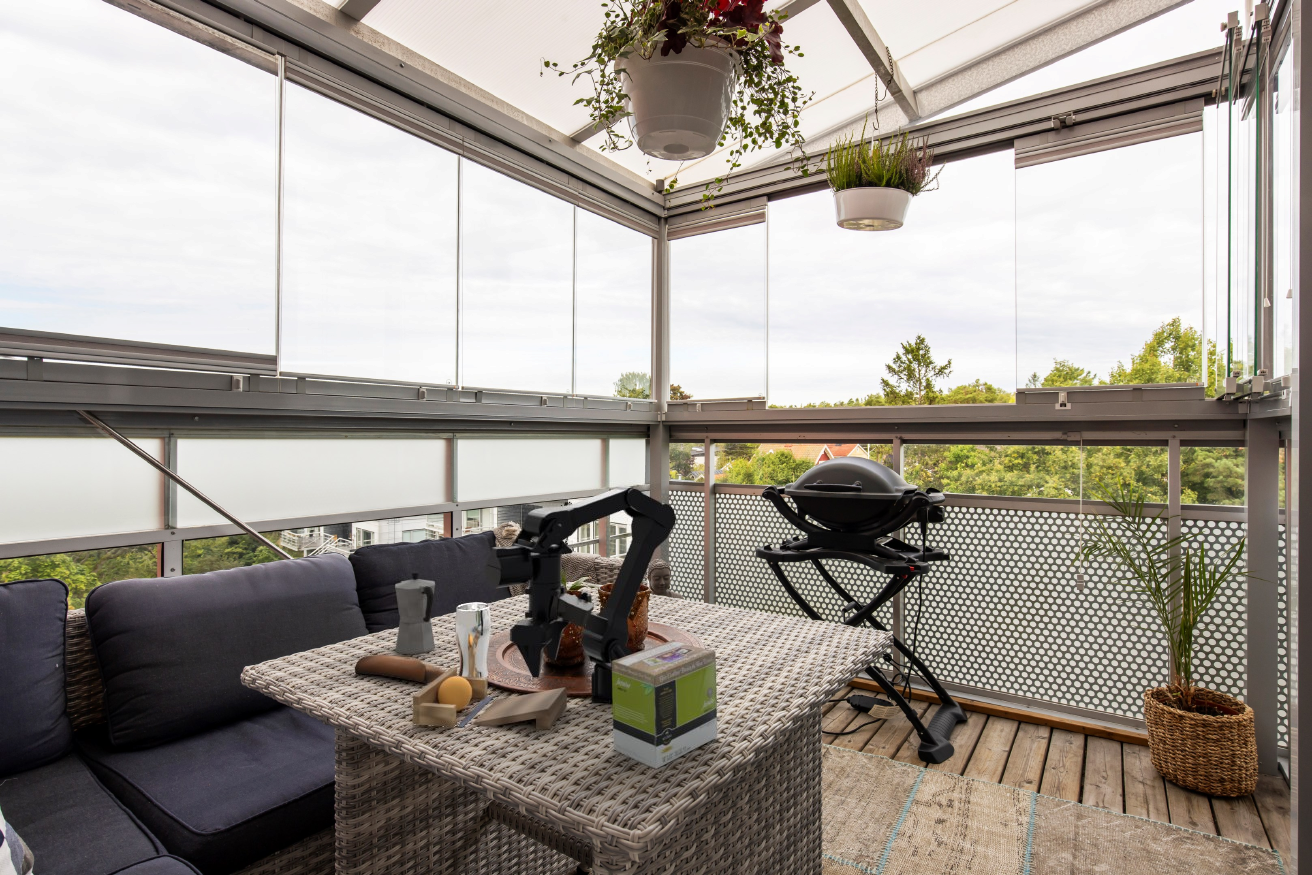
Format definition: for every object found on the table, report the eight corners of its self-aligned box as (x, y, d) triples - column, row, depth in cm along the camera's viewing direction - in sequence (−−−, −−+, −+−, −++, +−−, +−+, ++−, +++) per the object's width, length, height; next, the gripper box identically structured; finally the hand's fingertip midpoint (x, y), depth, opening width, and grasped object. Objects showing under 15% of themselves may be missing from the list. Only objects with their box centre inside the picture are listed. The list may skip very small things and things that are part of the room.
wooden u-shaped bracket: (494, 696, 132) (494, 670, 132) (460, 728, 118) (460, 699, 118) (451, 693, 134) (451, 667, 134) (412, 724, 120) (412, 696, 120)
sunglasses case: (451, 671, 146) (440, 649, 143) (432, 698, 140) (421, 676, 137) (382, 661, 152) (371, 640, 149) (362, 687, 146) (349, 665, 143)
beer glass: (481, 687, 137) (481, 611, 137) (449, 684, 139) (448, 609, 138) (496, 674, 144) (496, 603, 144) (465, 672, 145) (465, 601, 145)
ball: (446, 700, 129) (448, 669, 129) (476, 705, 128) (478, 673, 128) (430, 714, 124) (432, 680, 123) (461, 719, 123) (464, 685, 122)
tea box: (673, 721, 121) (674, 637, 121) (718, 739, 114) (718, 650, 114) (610, 750, 111) (610, 658, 110) (655, 771, 104) (656, 673, 103)
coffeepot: (384, 646, 163) (384, 569, 163) (422, 637, 169) (422, 564, 169) (411, 662, 152) (411, 580, 151) (451, 652, 158) (451, 574, 158)
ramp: (567, 711, 128) (567, 687, 128) (549, 735, 118) (549, 708, 118) (495, 706, 130) (495, 682, 130) (473, 729, 120) (473, 703, 120)
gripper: (574, 594, 112) (573, 690, 112) (602, 572, 131) (601, 654, 131) (508, 591, 114) (508, 686, 114) (545, 569, 132) (545, 650, 133)
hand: (544, 668), depth 123 cm, fingers open, 9 cm apart
